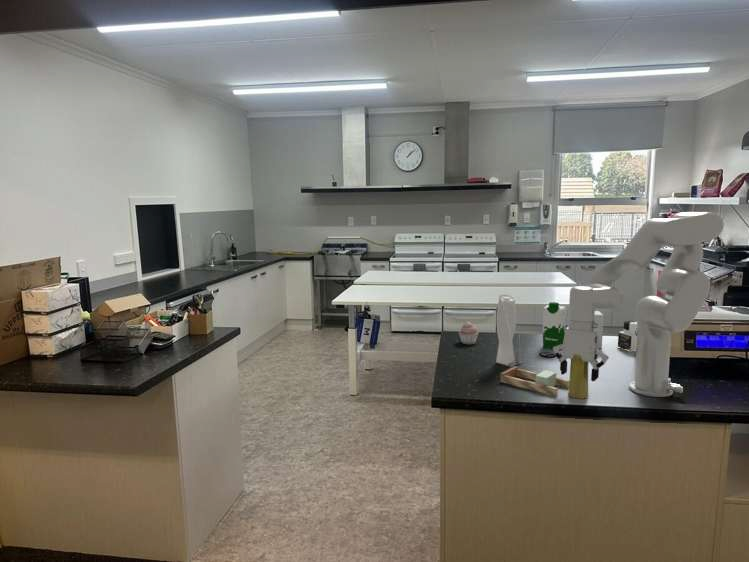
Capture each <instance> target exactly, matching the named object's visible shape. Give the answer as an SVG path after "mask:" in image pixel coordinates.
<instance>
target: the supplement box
mask: <svg viewBox="0 0 749 562" xmlns="http://www.w3.org/2000/svg"><path fill="white" fill-rule="evenodd" d="M594 321H595V323H596V324H599V327H598V328H595V329H594V330H596V331H597V336H598V348H599V349H600V348H602V349H603V334H604V333H603V332H604V331H603V330H604V314H603V313H602V312H601V311H600V310H595V316H594Z"/></svg>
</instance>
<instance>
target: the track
mask: <svg viewBox="0 0 749 562" xmlns="http://www.w3.org/2000/svg"><path fill="white" fill-rule="evenodd" d="M537 374H539V373H538V372H534V371H530V370H526V369H521V368H519V366H518V365H516V366H513V367H509V368H508V369H507V370H505V371H502V372H500V380H499V382H500V383H502V382H503V383H504V384H506V383H507V385H510V384H511V386H515V387H518V388H523V389H527V390H529V389H530V390H531V391H533V390H534V391H533V392H537V391H538V393H543V394H546V395H549V394H550V396H553V395H554V397H558V393H559V392H558V391H559V389H558V387H560V386H562V387H561V388H565V387H566V389H569V381H570V379H565V378H560V377H557V376H556V385H557V387H555V386H556V385H555V386H554V387H551V386H547V385H543V384H539V383H535V377H536V375H537ZM519 377H520V378H519ZM521 378H522V379H521ZM523 378H524V379H523ZM525 379H526V380H525ZM527 379H528V380H527ZM531 379H532V381H531ZM533 381H534V382H533ZM530 390H529V391H530Z"/></svg>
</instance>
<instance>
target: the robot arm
mask: <svg viewBox="0 0 749 562" xmlns="http://www.w3.org/2000/svg"><path fill="white" fill-rule="evenodd" d="M724 226H725V224H724V221H723V218H722V217H721V216H720V215H719V214H717V213H715V212H710V211H708V212H707V211H684V212H683V211H682V212H678V213H675V214H674V215H672V217H671V218H664V217H659V218H658V217H657V218H656V217H655V218H650V219H647V220H646V221H645V222H644V223H643V224H642V225H641V226H640V227H639V229H638V230H637V232H636V233H635V235H634V236H633V237H632V238H631V240H630V241H629V242H628V243H627V244H626V246H625V247H624V249H623V250H622V251H621V252H620V253H619V254H618V255H616V256H615V257H613V258H612V259H610V260H608V262H606V263H605V264H603V265H602V266H601V267H598V269H597V270H596V271H595V272H594V273H593V275H592V276H591V277H590V278H589V279H588V281H587V282H586V284H585V285H577V286H572V287H571V288H570V290H569V303H568V304H569V305H568V306H569V307H568V326H567V327H565V335H564V341H563V344H561V345H558V346H555V347H553V349H552V350H553V353H554V355H555V357H556V359H558V362H560V364H559V371H560V374H561V375H565V374H566V373H567V372H568V361H567V359H568V360H569V359H570V360H571V359H573V354H575V355H580V356H581V360H582V361H584V362H589V364H590V365H591V366H592V369H591V373H590V375H591V377H590V381H591V382H595V381H596V380H598V379H599V374H600V373H599V372H600V368H601V367H603V366H604V365H605V364H606V363H607V361H608V360H609V356H608V355H607V354H606V353H604V352H602V351H601V350H600V348H598V336H597V331H596V330H594V329H595V328H598V327H599V324H596V323H595V321H594V316H595V311H597V310H598V311H601V310H602V311H615V310H618V309H619V308H621V307H622V306H623V305H624V303H625V295H624V294H623V292H622V291H621V290H620V289H619V288H617V287H614V286H612V285H614V283H615V282H617V281H618V280H621V279H622V278H624V277H627V276H630V275H633V274H636V273H639V272H642V271H644V270H645V269H646V268H647V267H648V265H650V263H651V262H652V260H653V259H654V258H655V257H656V255H657V254H658V252H660V251H661V250H662V248H663V247H673V249H672V252H671V255H670V256H669V258H668V260H667V262H666V263H665V265H664V266H663V269H662V270H661V272H660V274H659V275H658V278H657V279H656V284H655V285H656V289H657V290H658V292H660V293H662V294H663V295H666V296H668V297H672V298H671V299H670V298H667V297H662V296H658V295H647V296H644V297H642V298H641V299H640V300H639V301H638V302H637V304H636V306H635V317H636V318H635V319H636V322H637V328H638V336H637V351H635V353H636V354H635V370H634V381H631V382H629V384H628V386H629V387H628V388H629V389H630V390H631V391H632V392H634V393H636V394H639V395H642V396H647V397H653V398H654V397H655V398H667V397H670V396H672V395H673V392H676V393H681V394H682V393H683V391H684V387H683V386H681V384H677V383H673V382H672V381H671V380H672V379H671V377H669V373H670V357H671V356H670V354H671V348H672V347H671V345H672V343H671V342H672V339H671V337H672V336H671V332H672V333H680V332H681V333H682V332H683V331H685V330H687V329H688V328H689V327H690V326H691V324H692V323H693V321H694V320H695V318H696V316H697V315H698V313H699V311H700V310H701V308H702V307H703V305H704V303H705V301H706V300H707V298H708V295H709V294H710V290H711V281H710V279H709V277H708V275H706V273H705V272H702V271H700V270H699V267H700V265H701V264H702V261H703V258H704V250H703V245H702V243H704V242H709V241H713V240H715V239H716V238H718V237H719V236H720V235H721V233H722V232H723V231H724ZM559 349H560V350H562V353H561V352H560V350H559ZM599 357H600V358H601V361H600V362H599V361H598V358H599Z"/></svg>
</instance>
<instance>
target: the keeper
mask: <svg viewBox="0 0 749 562" xmlns="http://www.w3.org/2000/svg"><path fill="white" fill-rule="evenodd" d="M556 377H557V372H554V371H551V370H546V369H544V370H542V371H541V372H540V373H539V374H537V375H536V377H535V380H534V382H535V383H539V384H543V385H547V386H551V387H555V386H556Z"/></svg>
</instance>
